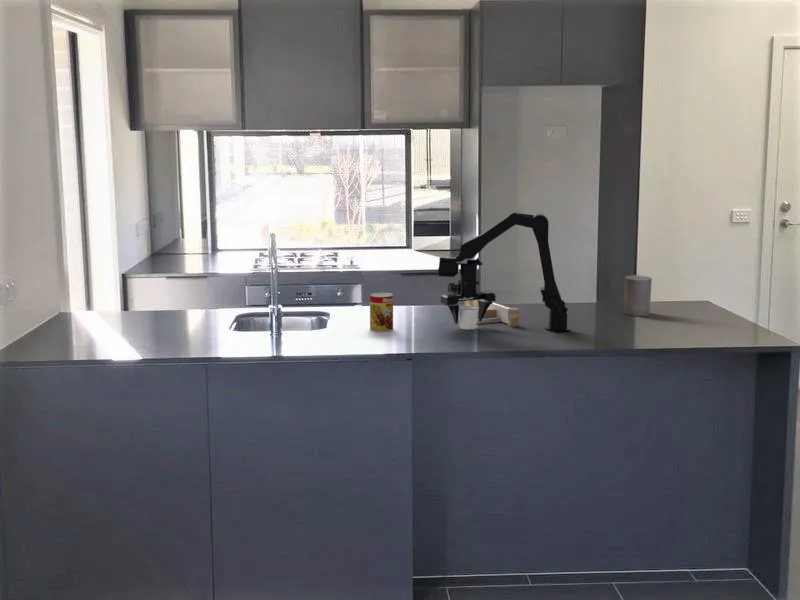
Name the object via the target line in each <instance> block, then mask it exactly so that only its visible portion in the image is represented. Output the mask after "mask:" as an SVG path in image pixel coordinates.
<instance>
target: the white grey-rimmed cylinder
mask: <svg viewBox="0 0 800 600" xmlns="http://www.w3.org/2000/svg"><path fill="white" fill-rule="evenodd" d="M477 315H478V308H477V307H471V306H464V305H463V306H459V314H458V322H459V323H458V324H459V329H462V330H466V331H467V330H475V329H477V325H478V324H477Z"/></svg>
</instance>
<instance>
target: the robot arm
mask: <svg viewBox="0 0 800 600" xmlns="http://www.w3.org/2000/svg"><path fill="white" fill-rule="evenodd" d="M514 226H521V227H525V228H529V229H532V232H533V235H534V237H535V239H536V243H537V245H538V246H537V247H538V251H539V252H538V253H539V258H540V265H541V270H542V275H543V276H542V277H543V281H544V282H543V287H540V288H539V290H540V294H541V302H542V303H544V305H545V307H546V308H548V309H549V311H548V313H549V314H548V326H547V327H544V329H545V330H547V331H550V332H553V333H560V332H561V333H564V332H571V330H572V329H571V328H568V305H567V303H566V302H565V301H564V300H563V299H562V295H561V293H560V292H561V291H560V289H559V288H558V284H557V282H556V278H555V274H554V273H555V272H554V268H553V261H552V255H551V251H550V244H549V219H548V217H547V216H546V215H545V214H543V213H535V214H527V213H521V212H517V211H513V212H510V214H508V216H506V217H504V218H503V219H502V220H500V221H499V222H497V223H495V224H494V225H493V226H491V227H490V228H489V229H487V230H486V231H484V232H483V233H482V234H479V235H476V236H474V237H472V238H470V239H467V240H465V241H464V242H463V243H462V245H461V246H460V250H459V252H458V254H457V255H456V256H455V257H444V256H441V257H439V263H438V268H437V271H438V272H437V273H438V278H456V276H457V275H460V278H459V279H458V281H457V284H455V282H449V283H447V293H445V294H442V295H441V296H440V303H442V304H444V306H447V307H448V309H449V310H450V313H451V316H452V319H453V322H454V324H456V325H458V324H459V323H458V322H459V307H460V305H459V304H458V303H459V302H464V301H469V300H477V301H478V304H479V315H478V318H479V322H481V321H482V319H483V317H484V314H485V312H486V311H487V309H488V307H489V306H490V304H492V303H494V302H496V301H497V296H496V293H495V292H492V291H489V290H483V291H481V290H480V291H478V285H480V281H478V266H483V264H484V262H483V261H482V260H481V258H480V257H476V256H477V255H478V254H480V252H481V251H482V250H483V249H484V248H485V247H486V246H487V245H488V244H489V243H490V242H492V241H493V240H495V239H496V238H498V237H499V236H501V235H502V234H504V233H505V232H507V231H508V230H510V229H511V228H513V227H514ZM475 257H476V259H473V258H475ZM466 259H467V260H466ZM465 260H466V261H465ZM459 270H460V274H459ZM471 297H473V298H471Z"/></svg>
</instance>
